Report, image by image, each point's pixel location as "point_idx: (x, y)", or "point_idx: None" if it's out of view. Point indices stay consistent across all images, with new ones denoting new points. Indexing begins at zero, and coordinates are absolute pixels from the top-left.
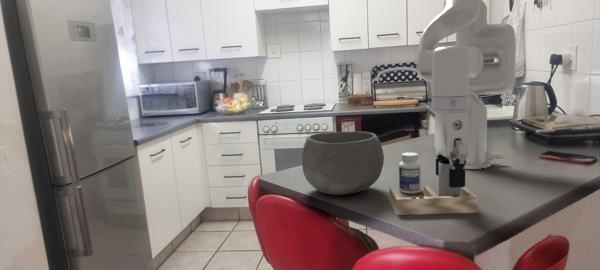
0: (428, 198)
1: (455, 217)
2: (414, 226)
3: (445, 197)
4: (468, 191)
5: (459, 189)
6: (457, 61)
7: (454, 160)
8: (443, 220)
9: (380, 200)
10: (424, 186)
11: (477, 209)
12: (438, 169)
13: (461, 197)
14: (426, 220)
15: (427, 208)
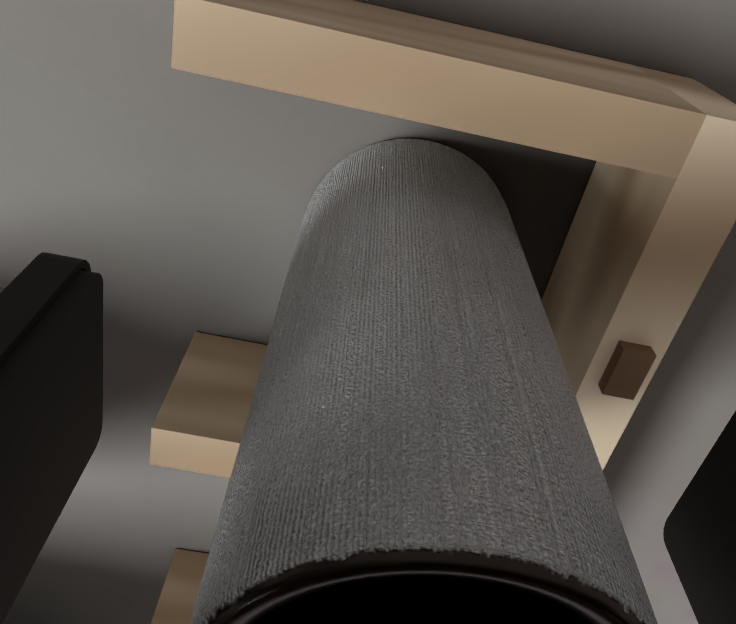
0: None
1: (682, 329)
2: (676, 602)
3: (598, 456)
4: (517, 110)
5: (524, 272)
6: None
7: (319, 588)
8: (686, 431)
9: (130, 601)
10: (154, 459)
11: (708, 89)
12: (66, 492)
13: (681, 320)
14: (625, 518)
15: None
